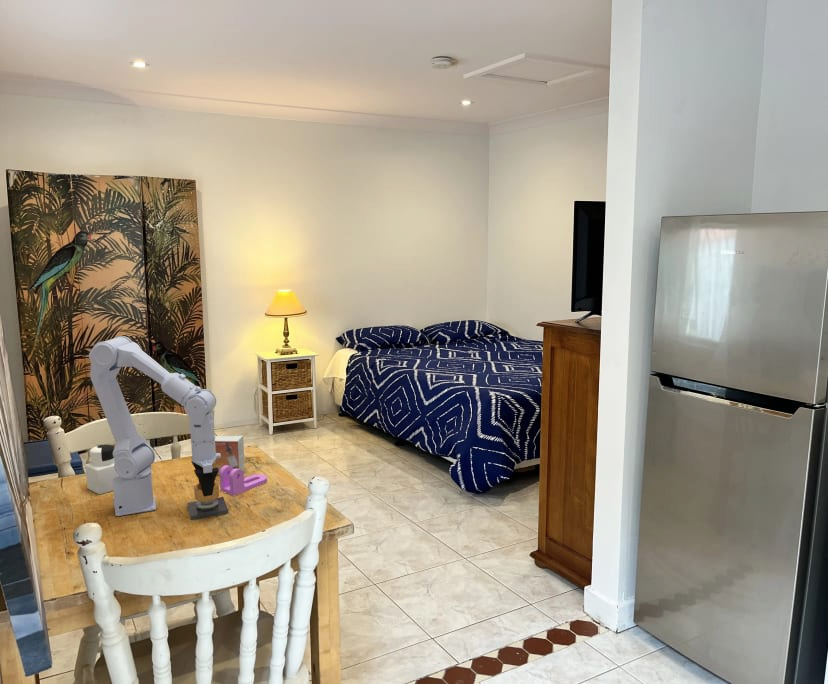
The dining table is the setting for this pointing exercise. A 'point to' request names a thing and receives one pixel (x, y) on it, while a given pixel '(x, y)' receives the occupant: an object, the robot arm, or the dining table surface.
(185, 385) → the robot arm
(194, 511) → the stand
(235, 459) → the small box
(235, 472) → the bracket
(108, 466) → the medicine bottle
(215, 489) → the wooden ring
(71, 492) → the dining table surface
